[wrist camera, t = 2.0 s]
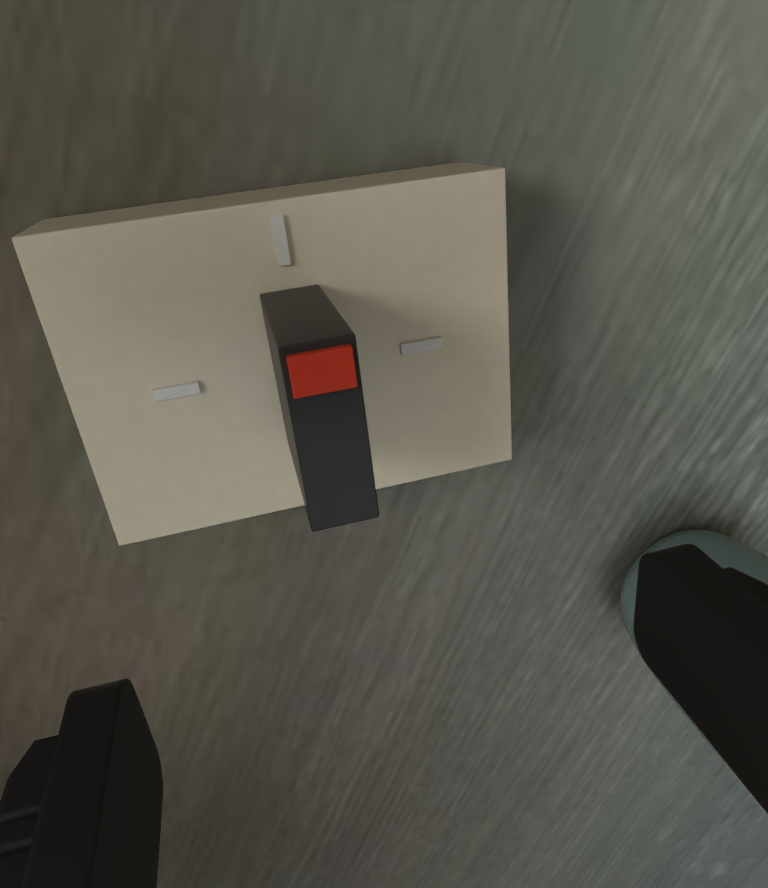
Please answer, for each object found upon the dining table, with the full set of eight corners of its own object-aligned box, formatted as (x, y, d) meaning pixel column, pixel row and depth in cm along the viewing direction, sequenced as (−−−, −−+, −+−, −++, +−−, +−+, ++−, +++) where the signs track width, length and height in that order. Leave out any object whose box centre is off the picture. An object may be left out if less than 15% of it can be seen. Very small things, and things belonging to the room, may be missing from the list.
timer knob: (341, 432, 22) (382, 522, 17) (288, 443, 22) (313, 537, 17) (318, 283, 20) (357, 336, 15) (258, 293, 20) (277, 351, 15)
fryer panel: (130, 489, 26) (118, 549, 22) (42, 219, 21) (8, 238, 17) (473, 418, 28) (514, 462, 24) (460, 161, 23) (508, 167, 20)
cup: (645, 653, 37) (783, 817, 28) (568, 586, 33) (698, 750, 24) (754, 558, 36) (933, 698, 27) (686, 478, 32) (868, 609, 23)
